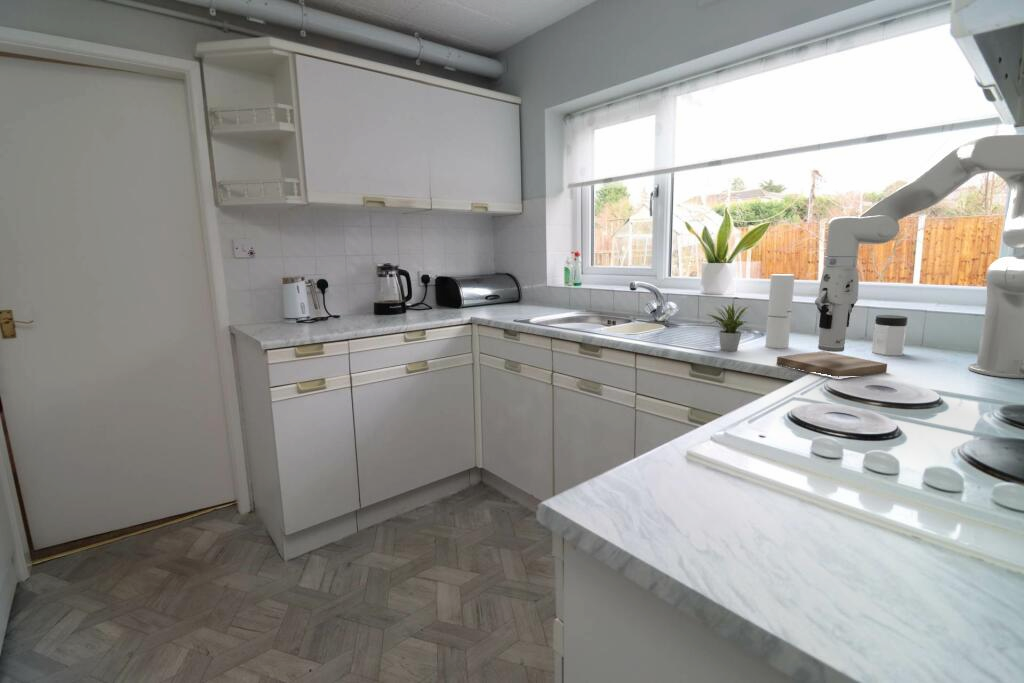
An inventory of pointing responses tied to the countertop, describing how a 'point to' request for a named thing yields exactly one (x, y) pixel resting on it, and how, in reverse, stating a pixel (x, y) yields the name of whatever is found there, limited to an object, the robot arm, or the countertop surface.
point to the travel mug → (835, 327)
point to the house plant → (729, 328)
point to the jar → (889, 335)
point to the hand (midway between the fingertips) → (833, 326)
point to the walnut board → (832, 364)
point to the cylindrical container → (779, 310)
